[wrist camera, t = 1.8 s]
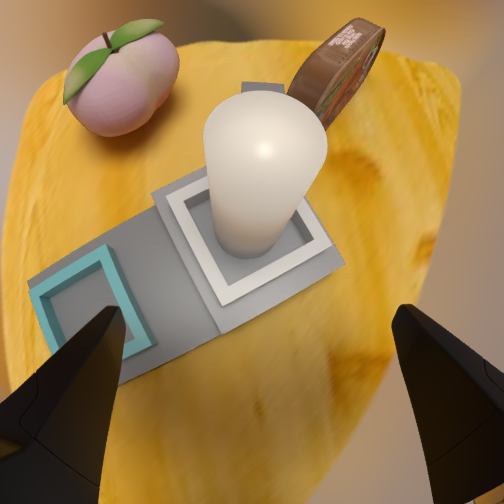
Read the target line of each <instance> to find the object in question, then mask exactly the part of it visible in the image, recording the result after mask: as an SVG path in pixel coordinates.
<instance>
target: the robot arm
mask: <svg viewBox="0 0 504 504" xmlns="http://www.w3.org/2000/svg"><path fill="white" fill-rule="evenodd" d="M391 327H392V332H393V337H394V341H395V345H396V350H397V355H398V359H399V363H400V367H401V371H402V374H403V377H404V381H405V384H406V387H407V390H408V394H409V397H410V401H411V404H412V408H413V412H414V415H415V419H416V423H417V426H418V431H419V434H420V439H421V443H422V447H423V451H424V456H425V460H426V465H427V470H428V475H429V480H430V486H431V491H432V497H433V503H434V504H465V503H467V502H470V501H472V500H473V503H474V504H504V373H502V372H501V371H499V370H498V369H497V368H496V367H494V366H493V365H491V364H490V363H489V362H488V361H487V360H485V359H483V357H482V356H480V355H479V354H478V353H476V352H475V351H474V350H472V349H471V348H470V347H469V346H467V345H466V344H465V343H463V342H462V341H460V340H459V339H458V338H457V337H456V336H454V335H453V334H452V333H450V332H449V331H447V330H446V329H445V328H444V327H442V326H441V325H439V324H438V323H437V322H435V321H434V320H433V319H431V318H430V317H429V316H427V315H426V314H424V313H423V312H422V311H420V310H419V309H417V308H416V307H415V306H413V305H412V304H402V305H400V306H399V307H398V309H397V312H396V314H395V316H394V318H393V320H392V325H391ZM125 335H126V324H125V321H124V317H123V314H122V310H121V308H120V307H119V306H115V305H107V306H106V307H104V308H103V309H102V310H101V311H100V312H99V313H98V314H97V315H95V316H94V317H93V318H92V319H91V320H90V321H89V322H88V323H87V324H86V325H84V326H83V327H82V328H81V329H80V330H79V331H78V332H77V333H76V334H75V335H73V336H72V337H71V338H70V339H69V340H68V341H67V342H66V343H65V344H64V345H63V346H62V347H61V348H60V349H58V350H57V351H56V352H55V353H54V354H53V355H52V356H51V357H50V358H49V359H48V360H47V361H46V362H45V363H44V364H43V365H42V366H41V367H40V368H39V369H38V370H37V371H36V373H33V374H32V375H31V376H30V377H29V378H28V379H27V380H26V381H25V382H24V383H23V384H22V385H21V386H20V387H19V388H18V389H17V390H16V391H14V392H13V393H12V394H11V395H10V396H9V397H8V398H6V399H5V400H4V401H3V402H1V403H0V504H98V499H99V490H100V488H99V487H100V481H101V474H102V467H103V460H104V454H105V448H106V442H107V436H108V431H109V425H110V420H111V415H112V410H113V405H114V400H115V396H116V391H117V387H118V382H119V378H120V373H121V366H122V357H123V349H124V342H125Z"/></svg>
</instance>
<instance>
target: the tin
mask: <svg viewBox="0 0 504 504" xmlns="http://www.w3.org/2000/svg"><path fill="white" fill-rule="evenodd" d="M385 33H386V31H385V28H381V27H379V26H377V25H375V24H373V23H371V22H369V21H367V20H365V19H362V18H355V19H353V20H351V21H350V22H349V23H348V24H346V25H345V26H344V27H342V28H341V29H340V30H339V31H337V32H336V33H335V34H334V35H332V36H331V37H330V38H329V39H328V40H326V41H325V42H324V43H323V44H322V45H320V46H319V47H318V48H317V49H316V50H315V51H314V52H313V53H312V54H311V55H310V56H309V57H308V58H307V59H306V60H305V62H304V63H303V64H302V66H301V67H300V69H299V70H298V72H297V74H296V75H295V77H294V79H293V81H292V83H291V85H290V87H289V89H288V92H287V94H286V95H288V96H290V97H292V98H294V99H296V100H298V101H300V102H301V103H303V104H304V105H306V106H307V107H308V108H309V109H310V110H311V111H312V112H313V113H314V114H315V115H316V116H317V118H318V119H319V120H320V122H321V124H322V126H323V128H324V130H325V131H326V129H327V128H328V127H329V126H330V124H331V123H332V122H333V120H334V119H335V118H336V117H337V115H338V114H339V113H340V112H341V110H342V109H343V108H344V107H345V105H346V104H347V103H348V102H349V100H350V99H351V98H352V96H353V95H354V94H355V93H356V91H357V90H358V89H359V87H360V86H361V84H362V83H363V81H364V79H365V78H366V76H367V74H368V72H369V71H370V69H371V67H372V65H373V63H374V61H375V59H376V57H377V55H378V53H379V51H380V48H381V46H382V43H383V40H384V37H385Z"/></svg>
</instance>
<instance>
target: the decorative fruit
mask: <svg viewBox="0 0 504 504" xmlns="http://www.w3.org/2000/svg"><path fill="white" fill-rule="evenodd" d="M162 25H164V22H162V21H159V20H154V19H142V20H136V21H132V22H130V23H127V24H125V25H123V26H122V27H120V28H119V29H117V30H115V31H111V32H109V33H106V32H105V33H103V34H102V35H101V36H99V37H98V38H96V39H94V40H93V41H91V42H90V43H89V44H88V45H86V46H85V48H83V49H82V50H81V52H80V53H79V54H78V55H77V56H76V57H75V59H74V60H73V62H72V64H71V65H70V67H69V69H68V72H67V75H66V78H65V83H64V94H63V105H65V104H66V103H67V106H68V108H69V109H70V111H71V112H72V114H73V115H74V116H75V117H76V119H77V120H78V121H79V122H80V123H81V124H82V125H83V126H84V127H85V128H86V129H88V130H89V131H90V132H92V133H94V134H96V135H99V136H104V137H114V136H120V135H124V134H127V133H129V132H132V131H134V130H136V129H138V128H139V127H141V126H142V125H144V124H145V123H146V122H147V121H148V120H149V119H150V118H151V117H152V115H153V113H154V111H155V110H156V109H157V108H159V107H160V106H161V105H162V104H163V103H164V102H165V100H166V99H167V97H168V96H169V94H170V92H171V90H172V88H173V85H174V83H175V81H176V78H177V75H178V71H179V61H180V59H179V55H178V53H177V50H176V49H175V47H174V45H173V44H172V43H171V42H170V41H169V40H168V39H167V38H166V37H165V36H163V35H162V34H160V33H158V32H156V31H154V30H155V29H157V28H159V27H161V26H162Z"/></svg>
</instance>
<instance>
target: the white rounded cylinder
mask: <svg viewBox="0 0 504 504" xmlns="http://www.w3.org/2000/svg"><path fill="white" fill-rule="evenodd" d="M203 141H204V150H205V159H206V168H207V176H208V184H209V192H210V200H211V208H212V216H213V223H214V231H215V236H216V239H217V241H218V243H219V244H220V246H221V247H222V248H223V249H224V250H225V251H226V252H227V253H229V254H230V255H232V256H234V257H237V258H241V259H254V258H258V257H260V256H263V255H264V254H266V253H267V252H268V251H270V250H271V249H272V247H273V246H274V245H275V243H276V241H277V240H278V238H279V237H280V235H281V233H282V232H283V230H284V228H285V227H286V225H287V223H288V222H289V220H290V219H291V217H292V215H293V214H294V212H295V210H296V209H297V207H298V205H299V204H300V202H301V200H302V199H303V197H304V195H305V194H306V192H307V190H308V189H309V187H310V186H311V184H312V182H313V181H314V179H315V177H316V176H317V174H318V172H319V171H320V169H321V167H322V166H323V163H324V161H325V159H326V155H327V147H328V146H327V137H326V133H325V130H324V128H323V126H322V124H321V122H320V120H319V119H318V118H317V116H316V115H315V114H314V113H313V112H312V111H311V110H310V109H309V108H308V107H307V106H306V105H304V104H303V103H301V102H300V101H298V100H296V99H294V98H292V97H290V96H288V95H285V91H284V84H275V83H260V82H242V88H241V93H240V94H237V95H234V96H232V97H230V98H228V99H226V100H225V101H223V102H222V103H221V104H219V105H218V106H217V107H216V108H215V109H214V110H213V112H212V113H211V114H210V116H209V118H208V119H207V121H206V124H205V127H204V133H203Z"/></svg>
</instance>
